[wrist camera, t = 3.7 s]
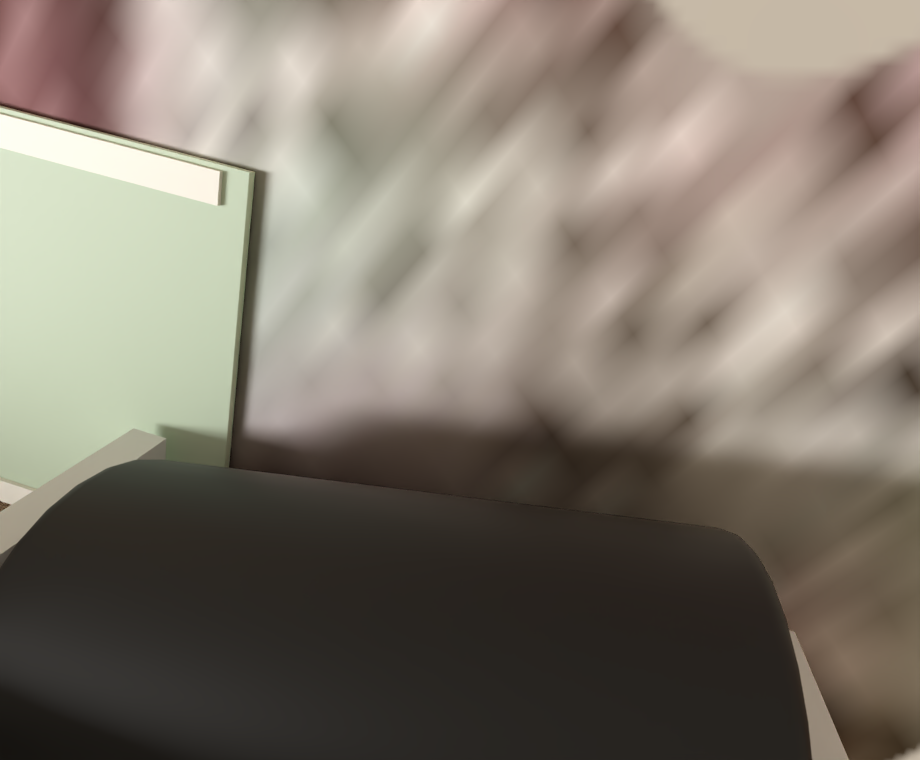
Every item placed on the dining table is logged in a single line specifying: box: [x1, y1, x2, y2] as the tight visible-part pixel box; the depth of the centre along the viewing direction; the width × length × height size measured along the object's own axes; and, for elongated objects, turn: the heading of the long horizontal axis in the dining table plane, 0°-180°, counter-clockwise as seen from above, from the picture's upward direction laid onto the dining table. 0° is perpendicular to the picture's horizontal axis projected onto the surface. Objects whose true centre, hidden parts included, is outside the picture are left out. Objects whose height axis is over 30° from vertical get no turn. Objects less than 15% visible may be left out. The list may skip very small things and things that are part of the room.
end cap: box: [0, 460, 812, 760], centre depth 10 cm, size 10×7×7 cm
